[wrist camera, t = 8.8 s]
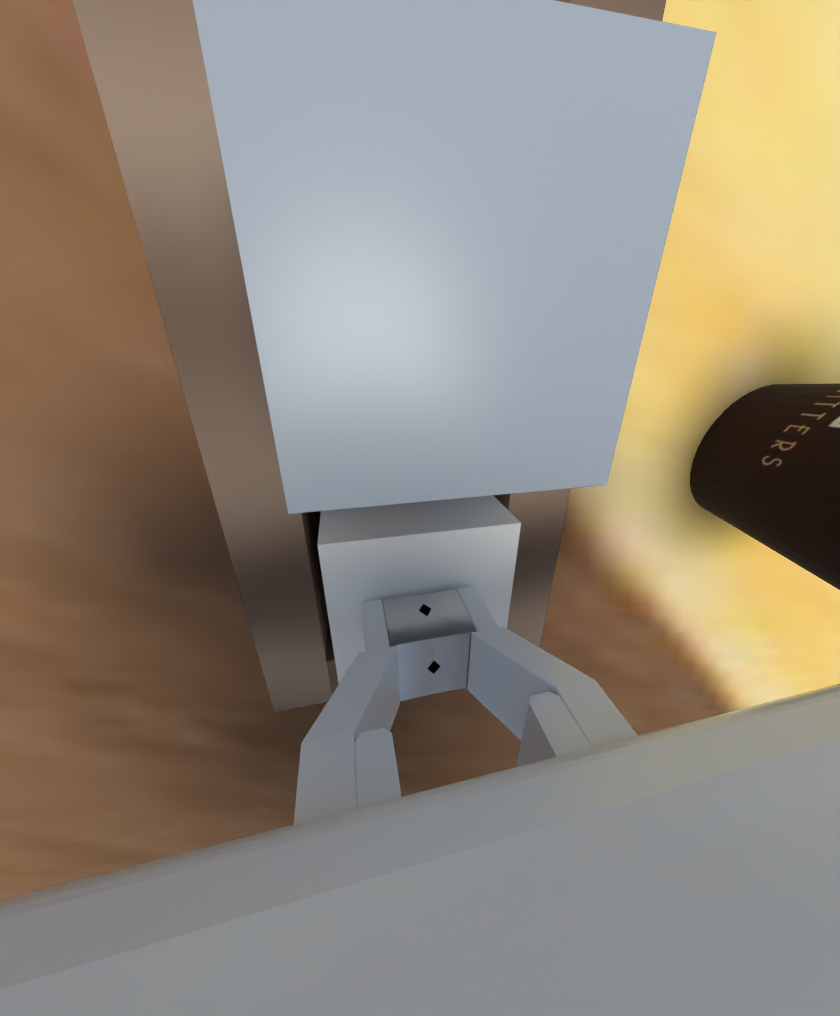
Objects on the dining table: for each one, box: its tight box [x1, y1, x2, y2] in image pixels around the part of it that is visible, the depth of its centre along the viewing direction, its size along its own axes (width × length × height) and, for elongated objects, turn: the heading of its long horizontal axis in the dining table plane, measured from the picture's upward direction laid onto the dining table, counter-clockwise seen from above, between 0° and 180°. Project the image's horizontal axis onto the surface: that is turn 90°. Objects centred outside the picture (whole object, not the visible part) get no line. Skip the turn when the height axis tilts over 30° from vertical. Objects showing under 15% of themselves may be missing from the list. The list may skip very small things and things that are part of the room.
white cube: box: [317, 495, 521, 683], centre depth 12 cm, size 5×5×5 cm
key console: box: [72, 0, 666, 712], centre depth 10 cm, size 24×10×4 cm, turn 0°
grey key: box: [193, 0, 716, 514], centre depth 6 cm, size 5×5×5 cm
